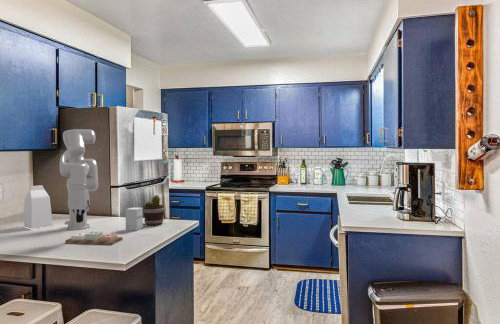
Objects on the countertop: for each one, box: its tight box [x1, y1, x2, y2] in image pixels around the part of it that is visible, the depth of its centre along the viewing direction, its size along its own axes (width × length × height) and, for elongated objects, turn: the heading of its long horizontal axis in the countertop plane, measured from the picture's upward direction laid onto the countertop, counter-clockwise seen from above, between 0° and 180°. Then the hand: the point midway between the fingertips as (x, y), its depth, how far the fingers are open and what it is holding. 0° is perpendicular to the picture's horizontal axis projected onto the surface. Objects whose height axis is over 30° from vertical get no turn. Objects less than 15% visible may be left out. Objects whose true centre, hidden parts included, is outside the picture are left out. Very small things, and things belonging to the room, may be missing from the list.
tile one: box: [70, 232, 88, 240], centre depth 186 cm, size 6×6×3 cm
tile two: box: [85, 231, 104, 240], centre depth 184 cm, size 6×6×3 cm
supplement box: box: [124, 207, 144, 232], centre depth 212 cm, size 7×7×13 cm
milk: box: [23, 184, 54, 229], centre depth 222 cm, size 12×12×26 cm
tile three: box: [100, 233, 118, 241], centre depth 183 cm, size 6×6×3 cm
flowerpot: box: [141, 193, 166, 226], centre depth 226 cm, size 14×15×20 cm
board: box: [64, 236, 124, 246], centre depth 185 cm, size 26×10×2 cm, turn 80°
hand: (79, 221), depth 186 cm, fingers closed
